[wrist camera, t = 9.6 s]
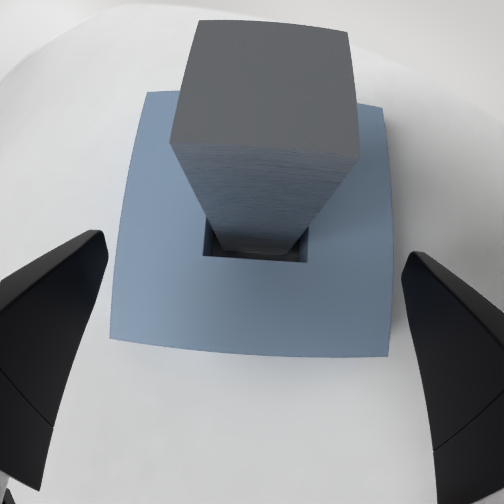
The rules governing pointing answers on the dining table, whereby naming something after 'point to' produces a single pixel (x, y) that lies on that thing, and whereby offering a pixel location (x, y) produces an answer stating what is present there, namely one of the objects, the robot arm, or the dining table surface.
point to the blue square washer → (252, 261)
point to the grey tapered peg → (265, 128)
